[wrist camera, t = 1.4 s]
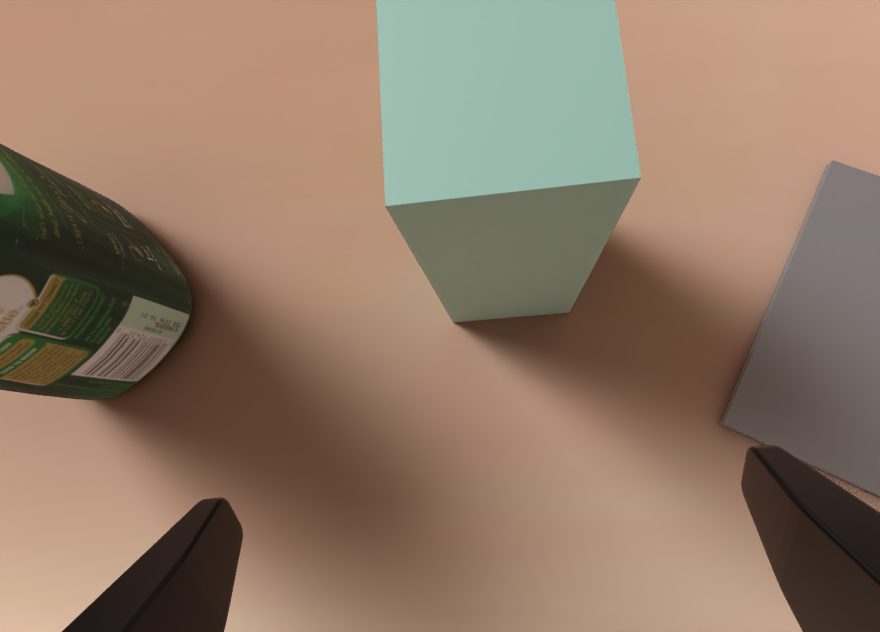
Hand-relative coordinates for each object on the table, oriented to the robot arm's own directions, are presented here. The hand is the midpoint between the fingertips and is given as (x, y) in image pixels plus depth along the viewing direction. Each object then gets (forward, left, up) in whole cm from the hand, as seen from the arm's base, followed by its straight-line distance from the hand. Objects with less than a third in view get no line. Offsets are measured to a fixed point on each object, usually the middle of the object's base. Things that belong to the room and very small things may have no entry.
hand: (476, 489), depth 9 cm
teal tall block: (+3, -7, -13) cm, 15 cm away
